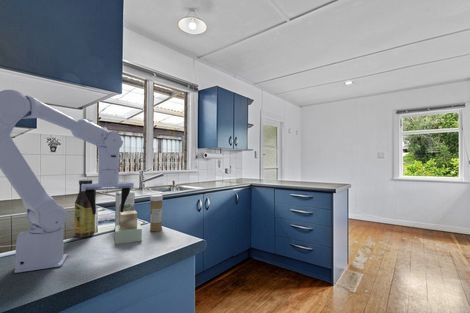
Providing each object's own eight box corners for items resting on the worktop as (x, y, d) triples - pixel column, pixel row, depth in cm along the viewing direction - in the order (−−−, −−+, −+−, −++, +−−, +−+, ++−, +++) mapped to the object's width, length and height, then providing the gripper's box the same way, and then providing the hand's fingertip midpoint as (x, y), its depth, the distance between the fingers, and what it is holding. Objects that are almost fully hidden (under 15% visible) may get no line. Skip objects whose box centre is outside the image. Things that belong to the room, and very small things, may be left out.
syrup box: (129, 225, 103) (130, 189, 103) (134, 228, 98) (134, 191, 98) (114, 227, 99) (115, 190, 99) (118, 230, 94) (119, 192, 94)
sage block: (115, 244, 80) (115, 231, 80) (115, 236, 87) (115, 225, 87) (141, 240, 83) (141, 228, 83) (139, 234, 91) (140, 223, 91)
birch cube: (120, 230, 82) (121, 214, 82) (119, 226, 86) (120, 211, 86) (137, 228, 84) (137, 213, 84) (135, 224, 89) (135, 210, 89)
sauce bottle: (73, 234, 89) (74, 179, 89) (93, 231, 93) (94, 178, 93) (75, 239, 84) (75, 180, 84) (96, 236, 88) (96, 179, 88)
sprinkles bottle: (151, 228, 98) (151, 194, 98) (163, 228, 98) (163, 194, 98) (148, 231, 93) (148, 196, 93) (161, 231, 94) (161, 195, 94)
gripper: (79, 170, 72) (79, 217, 72) (134, 169, 78) (133, 213, 78) (83, 169, 78) (82, 212, 78) (133, 168, 84) (132, 209, 84)
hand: (108, 212), depth 78 cm, fingers open, 7 cm apart
